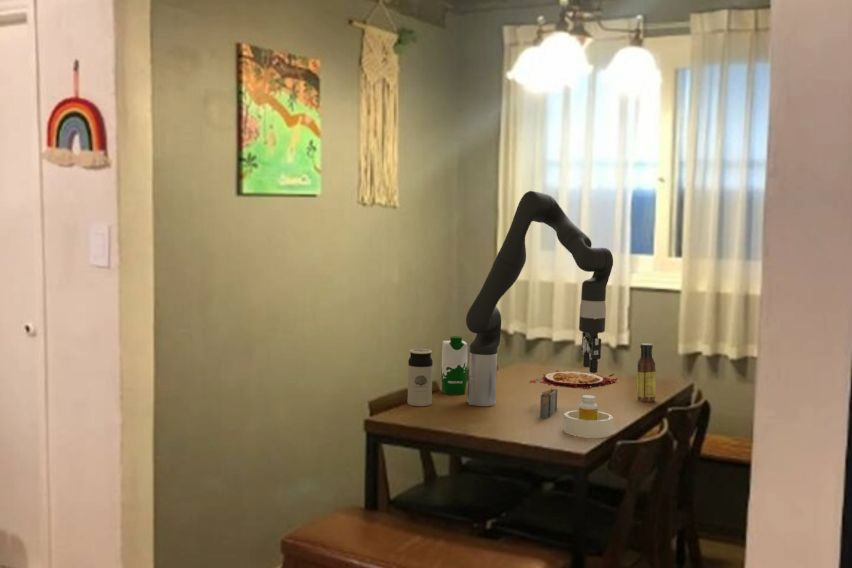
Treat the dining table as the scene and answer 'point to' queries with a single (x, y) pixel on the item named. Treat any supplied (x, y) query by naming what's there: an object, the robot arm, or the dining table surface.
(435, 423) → the dining table surface
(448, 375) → the milk carton
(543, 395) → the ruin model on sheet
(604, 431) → the bowl
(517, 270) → the robot arm
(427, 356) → the travel mug
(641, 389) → the sauce bottle
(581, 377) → the plate with food
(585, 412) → the supplement bottle
